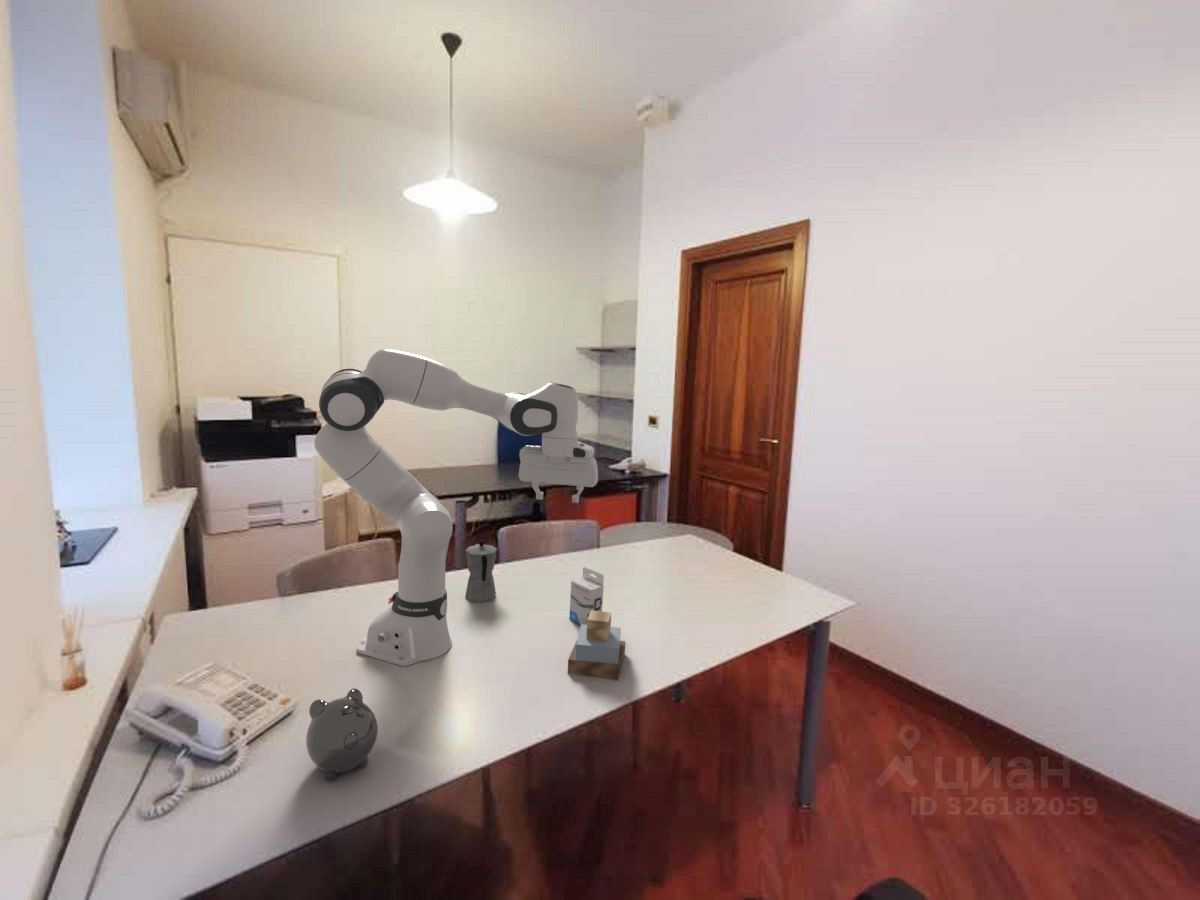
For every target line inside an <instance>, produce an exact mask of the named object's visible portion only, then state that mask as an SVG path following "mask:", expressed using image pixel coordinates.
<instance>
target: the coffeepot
mask: <svg viewBox="0 0 1200 900" xmlns="http://www.w3.org/2000/svg"><path fill="white" fill-rule="evenodd" d="M497 551H498V548H497V547H495V546H493V545H491V544H485V540H484V539H480V540H478V543H476V544H475V545H471V546H468V547H467V548H466V549H465V557H466V563H467V564H466V565H467V569H468V572H469V577H468V580H467V586H466V591H465V596H464V597H465V598H466V599H467V600H468V601H470V602H474V603H484V602H489V601H492V600H494V598H495V597H496V594H497V593H496V585H495V581H494V575H493V570H494V569H495V568H494V567H495V561H496V557H497Z"/></svg>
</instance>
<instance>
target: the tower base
mask: <svg viewBox="0 0 1200 900" xmlns="http://www.w3.org/2000/svg"><path fill="white" fill-rule="evenodd" d="M577 640H578V638H577V639H576V641H575V643H574V646H573V648H572V651H571V652H570V655H569V657H568V659H567V674H569V675H570V674H571V675H576V676H584V677H591V678H596V679H597V678H598V679H603V680H609V681H615V682H616V681H617V682H618V681H619V677H620V674H621V670H622V667H623V666H622V665H623V662H624V657H625V652H626V641H625V640H620V648H619V660H618V664H611V663H600V662H588V661H577V660H576V644H577Z"/></svg>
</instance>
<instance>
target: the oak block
mask: <svg viewBox="0 0 1200 900" xmlns="http://www.w3.org/2000/svg"><path fill="white" fill-rule="evenodd" d="M611 627H612V612H608V611H602V612H601V611H593V610H591V612H590V615H589V617H588V619H587V637H586V639H590V640H597V641H604V642H607V641H608V637H609V634H610V628H611Z"/></svg>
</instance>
